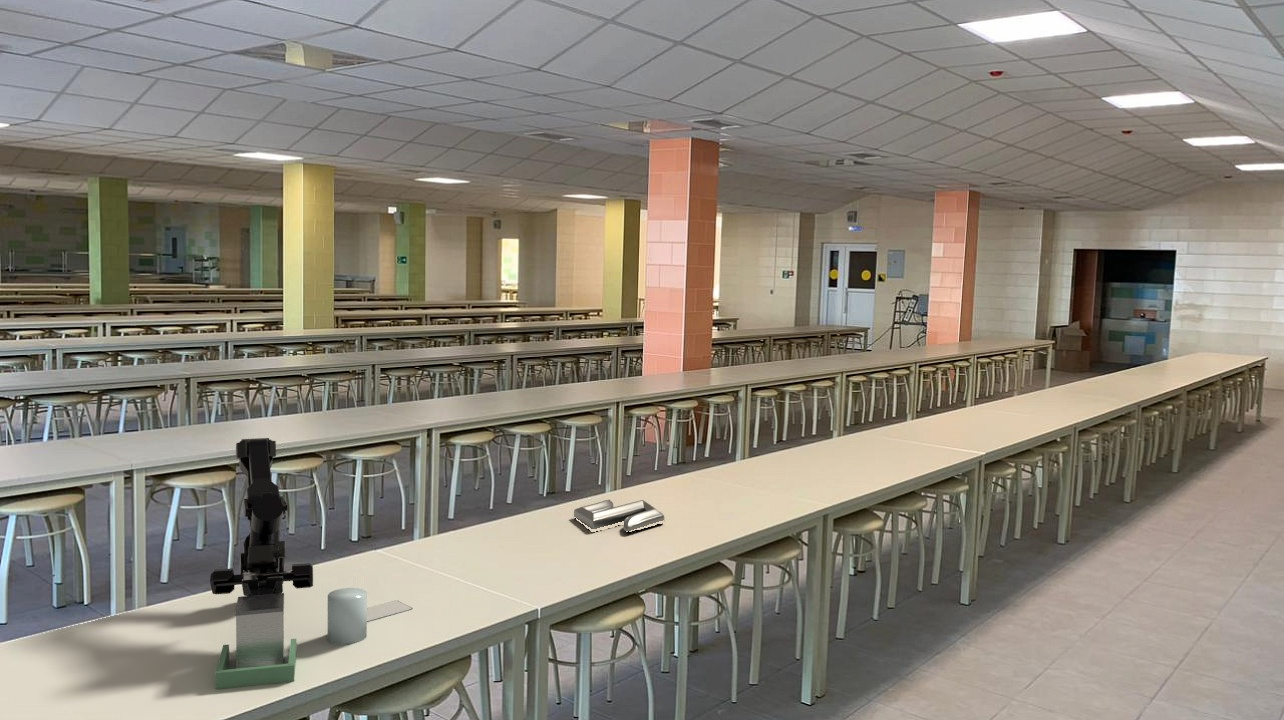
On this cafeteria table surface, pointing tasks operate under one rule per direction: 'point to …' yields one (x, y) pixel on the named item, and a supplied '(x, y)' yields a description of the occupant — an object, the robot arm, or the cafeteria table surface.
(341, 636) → the round-topped grey cylinder
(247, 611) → the tin
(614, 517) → the emblem
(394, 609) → the smartphone
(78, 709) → the cafeteria table surface
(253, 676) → the bay
